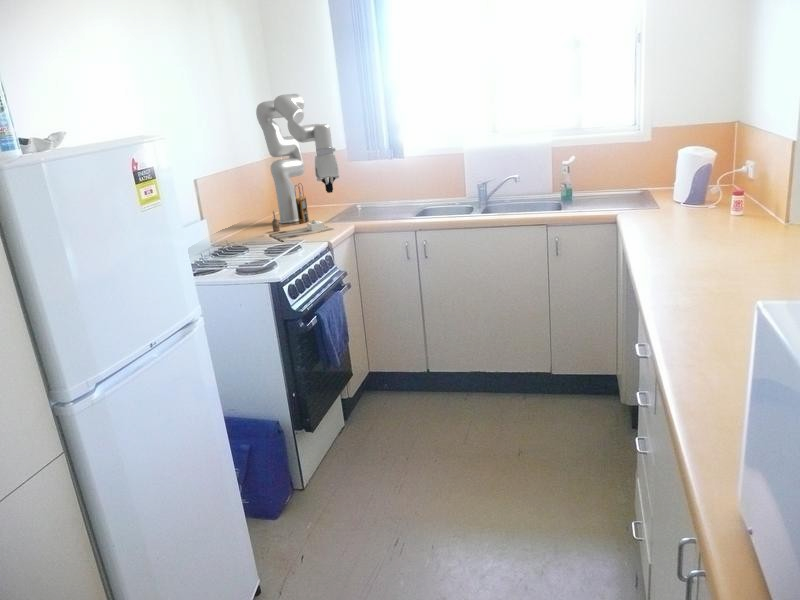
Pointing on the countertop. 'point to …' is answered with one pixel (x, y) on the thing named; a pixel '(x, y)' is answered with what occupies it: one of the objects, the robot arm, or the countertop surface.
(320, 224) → the thermostat
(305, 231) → the subfloor panel
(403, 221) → the countertop surface
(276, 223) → the awl
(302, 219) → the multimeter
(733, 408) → the countertop surface
